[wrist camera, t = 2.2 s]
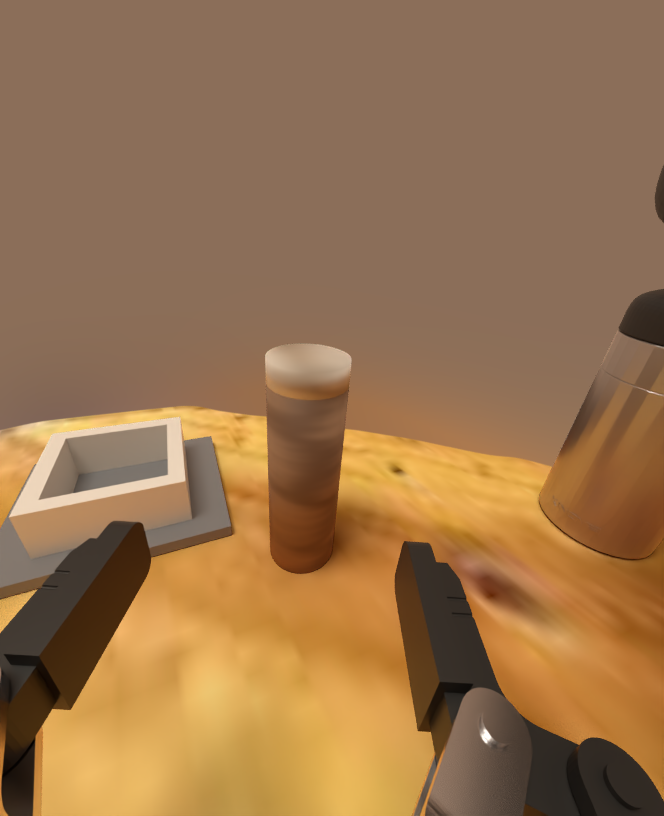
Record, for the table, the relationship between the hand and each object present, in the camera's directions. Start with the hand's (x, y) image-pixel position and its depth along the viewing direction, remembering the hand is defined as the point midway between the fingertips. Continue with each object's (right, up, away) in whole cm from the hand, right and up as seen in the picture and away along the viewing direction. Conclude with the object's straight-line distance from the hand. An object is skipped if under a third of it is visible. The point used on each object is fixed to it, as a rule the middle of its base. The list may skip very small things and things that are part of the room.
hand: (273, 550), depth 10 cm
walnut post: (-1, -7, +16) cm, 18 cm away
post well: (-17, -4, +19) cm, 26 cm away
